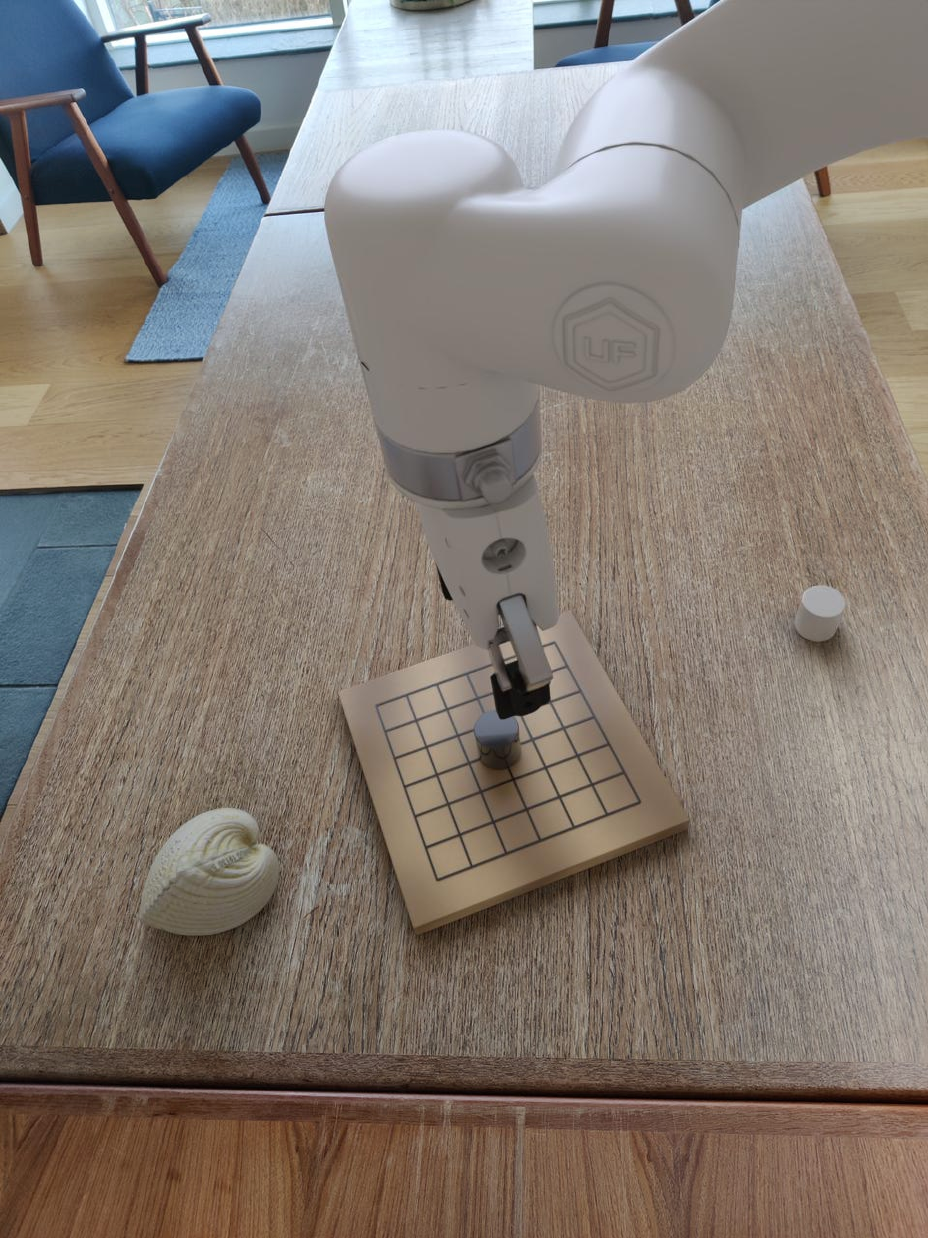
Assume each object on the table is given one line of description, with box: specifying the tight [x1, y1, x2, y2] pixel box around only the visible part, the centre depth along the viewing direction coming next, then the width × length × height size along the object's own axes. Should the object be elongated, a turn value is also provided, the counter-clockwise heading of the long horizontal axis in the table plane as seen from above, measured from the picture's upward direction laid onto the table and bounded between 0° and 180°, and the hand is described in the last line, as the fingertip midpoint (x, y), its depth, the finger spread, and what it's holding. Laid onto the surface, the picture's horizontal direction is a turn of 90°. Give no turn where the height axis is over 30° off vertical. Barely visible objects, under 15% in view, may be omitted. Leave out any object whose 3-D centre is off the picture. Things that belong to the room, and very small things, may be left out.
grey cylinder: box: [793, 585, 847, 643], centre depth 69 cm, size 3×3×3 cm
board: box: [337, 609, 690, 936], centre depth 66 cm, size 20×20×2 cm
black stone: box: [474, 710, 521, 770], centre depth 64 cm, size 3×3×3 cm
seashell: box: [138, 807, 280, 937], centre depth 60 cm, size 8×8×8 cm
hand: (494, 646), depth 54 cm, fingers open, 9 cm apart
